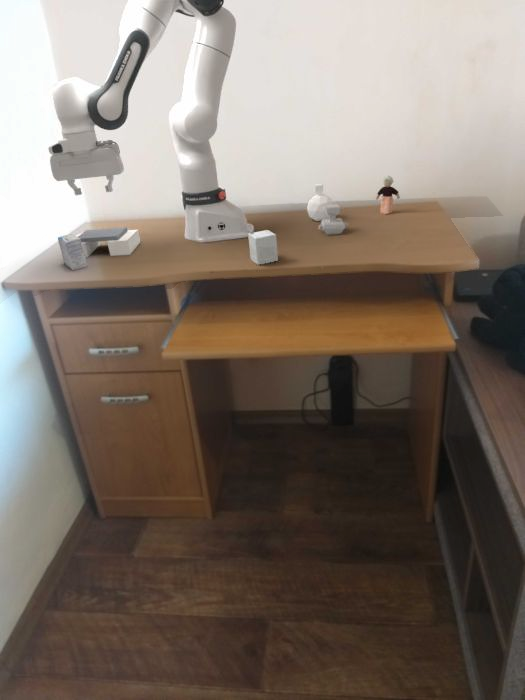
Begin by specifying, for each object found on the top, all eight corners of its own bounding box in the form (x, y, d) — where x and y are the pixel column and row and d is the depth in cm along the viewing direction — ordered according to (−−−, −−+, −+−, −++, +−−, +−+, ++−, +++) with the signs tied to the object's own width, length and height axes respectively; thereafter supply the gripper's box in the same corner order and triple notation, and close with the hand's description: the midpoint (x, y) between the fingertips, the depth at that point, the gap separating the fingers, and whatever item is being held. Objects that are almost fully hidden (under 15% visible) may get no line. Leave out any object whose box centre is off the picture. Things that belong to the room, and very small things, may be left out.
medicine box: (88, 268, 150) (80, 238, 146) (72, 272, 148) (64, 241, 144) (79, 262, 156) (72, 233, 152) (64, 265, 154) (56, 236, 150)
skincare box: (278, 261, 141) (276, 234, 138) (257, 265, 140) (255, 238, 136) (270, 255, 146) (268, 229, 143) (249, 259, 145) (247, 233, 141)
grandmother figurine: (375, 216, 174) (376, 177, 168) (375, 214, 177) (376, 175, 171) (399, 216, 172) (401, 176, 167) (398, 213, 176) (400, 173, 170)
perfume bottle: (308, 219, 179) (306, 182, 173) (335, 217, 177) (334, 181, 172) (306, 225, 171) (304, 188, 165) (334, 224, 170) (334, 186, 164)
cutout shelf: (140, 245, 167) (137, 225, 164) (130, 256, 156) (126, 236, 153) (83, 248, 168) (78, 229, 165) (68, 260, 158) (63, 240, 155)
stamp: (319, 237, 158) (318, 209, 154) (317, 232, 164) (316, 204, 160) (349, 235, 158) (349, 206, 154) (346, 229, 163) (345, 202, 160)
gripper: (120, 137, 149) (131, 187, 156) (51, 145, 151) (65, 194, 158) (113, 140, 144) (125, 191, 150) (42, 148, 146) (57, 199, 152)
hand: (94, 193), depth 154 cm, fingers open, 8 cm apart
